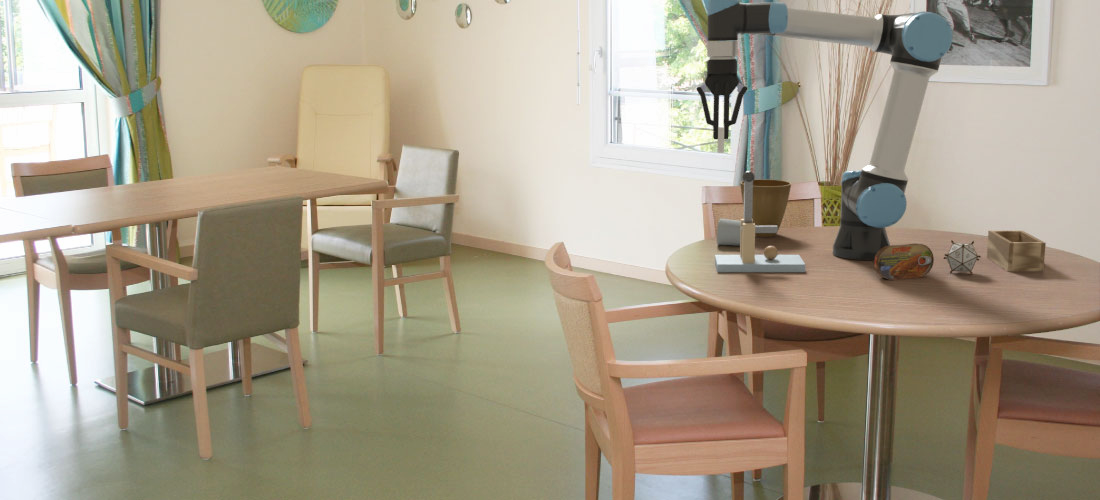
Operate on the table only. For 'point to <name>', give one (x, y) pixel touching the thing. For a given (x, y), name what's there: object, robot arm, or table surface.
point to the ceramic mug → (728, 232)
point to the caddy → (1016, 250)
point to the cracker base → (757, 257)
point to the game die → (962, 257)
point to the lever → (748, 202)
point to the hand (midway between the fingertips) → (720, 152)
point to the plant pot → (768, 202)
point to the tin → (903, 261)
